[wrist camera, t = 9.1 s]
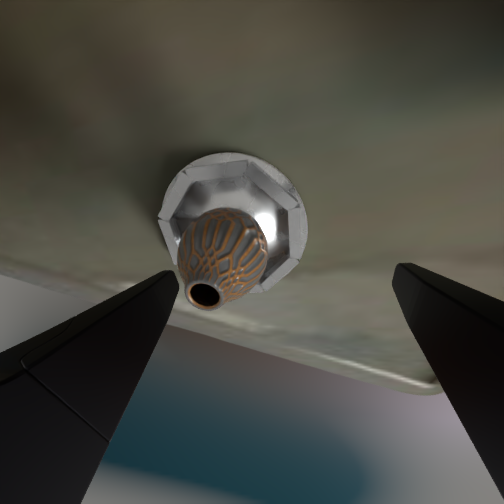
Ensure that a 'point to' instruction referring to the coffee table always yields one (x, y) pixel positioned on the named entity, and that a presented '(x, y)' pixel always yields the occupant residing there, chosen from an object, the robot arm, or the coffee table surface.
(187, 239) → the vase
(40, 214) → the coffee table surface
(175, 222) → the rosette plate
